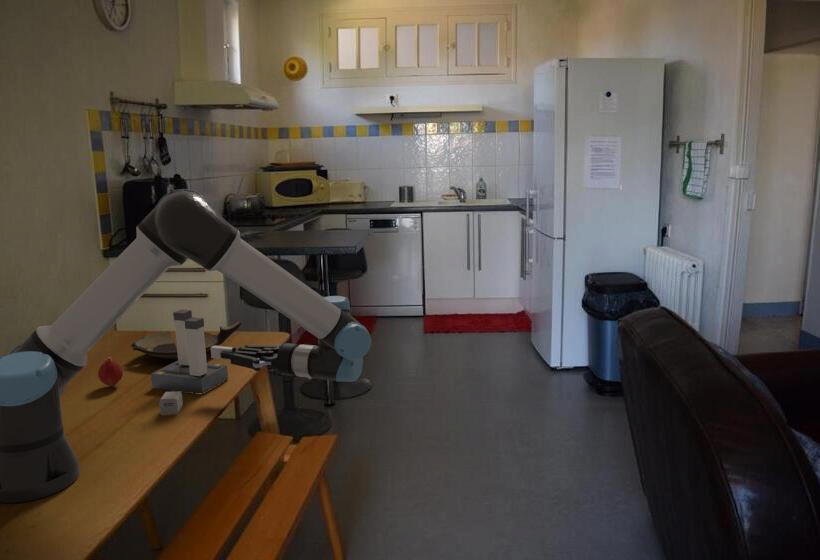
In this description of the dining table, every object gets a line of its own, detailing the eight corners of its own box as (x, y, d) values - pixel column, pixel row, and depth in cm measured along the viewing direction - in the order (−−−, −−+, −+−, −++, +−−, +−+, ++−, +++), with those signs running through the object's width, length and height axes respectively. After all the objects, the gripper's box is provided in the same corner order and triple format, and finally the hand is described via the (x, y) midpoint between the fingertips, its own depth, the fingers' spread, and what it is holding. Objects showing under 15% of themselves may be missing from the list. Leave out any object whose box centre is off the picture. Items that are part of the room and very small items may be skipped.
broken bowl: (144, 347, 206) (142, 322, 204) (244, 341, 210) (243, 317, 208) (124, 371, 184) (121, 344, 183) (236, 364, 188) (234, 338, 186)
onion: (94, 388, 171) (91, 358, 169) (113, 381, 176) (110, 352, 174) (110, 392, 168) (106, 362, 167) (129, 385, 173) (126, 355, 172)
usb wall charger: (160, 415, 154) (159, 399, 153) (168, 403, 161) (166, 388, 160) (178, 414, 154) (177, 398, 153) (185, 403, 161) (184, 387, 160)
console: (202, 394, 166) (201, 379, 165) (152, 388, 171) (150, 373, 170) (228, 379, 176) (226, 364, 175) (180, 374, 181) (178, 359, 180)
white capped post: (188, 365, 174) (183, 313, 171) (177, 364, 175) (173, 312, 172) (195, 361, 177) (191, 310, 174) (185, 360, 178) (181, 309, 175)
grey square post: (200, 376, 166) (195, 321, 163) (189, 375, 167) (184, 320, 164) (208, 372, 169) (203, 318, 166) (197, 370, 170) (192, 317, 167)
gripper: (285, 384, 153) (197, 374, 160) (311, 366, 165) (229, 358, 172) (283, 353, 151) (195, 344, 159) (310, 337, 163) (226, 329, 171)
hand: (212, 351), depth 166 cm, fingers closed
